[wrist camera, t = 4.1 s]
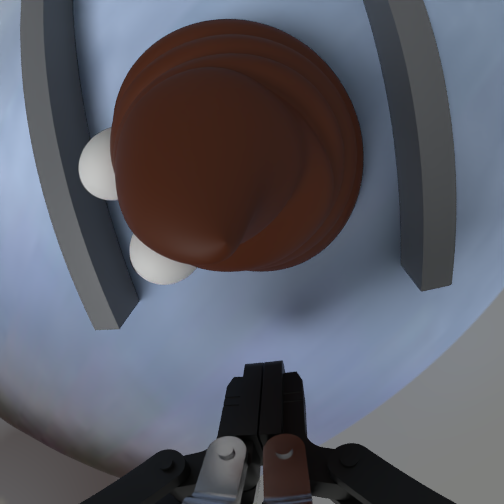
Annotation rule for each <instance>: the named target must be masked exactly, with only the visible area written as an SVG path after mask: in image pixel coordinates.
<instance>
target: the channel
mask: <svg viewBox="0 0 504 504" xmlns="http://www.w3.org/2000/svg"><path fill="white" fill-rule="evenodd" d="M363 2H364V5H365V8H366V11H367V15H368V18H369V21H370V25H371V28H372V32H373V36H374V40H375V43H376V47H377V51H378V55H379V60H380V64H381V69H382V73H383V78H384V83H385V88H386V93H387V99H388V104H389V110H390V116H391V123H392V130H393V137H394V145H395V154H396V163H397V174H398V186H399V201H400V223H401V266H402V267H403V269H404V270H405V271H406V272H407V274H408V275H409V276H410V278H411V279H412V280H413V282H414V283H415V284H416V285H417V287H418V288H419V289H420V291H426V290H431V289H435V288H440V287H444V286H449V285H451V284H452V275H453V265H454V253H455V236H456V171H455V155H454V143H453V133H452V124H451V116H450V109H449V102H448V96H447V90H446V85H445V80H444V75H443V70H442V65H441V61H440V57H439V52H438V48H437V45H436V41H435V37H434V33H433V30H432V27H431V23H430V20H429V17H428V14H427V11H426V8H425V5H424V2H423V0H363ZM20 41H21V66H22V79H23V90H24V99H25V106H26V114H27V120H28V127H29V132H30V138H31V143H32V148H33V153H34V158H35V163H36V167H37V171H38V175H39V179H40V183H41V187H42V191H43V195H44V198H45V202H46V205H47V209H48V212H49V215H50V219H51V222H52V225H53V228H54V231H55V234H56V237H57V240H58V243H59V246H60V249H61V251H62V254H63V257H64V259H65V262H66V265H67V267H68V270H69V272H70V275H71V277H72V280H73V282H74V285H75V287H76V289H77V292H78V294H79V296H80V299H81V301H82V303H83V305H84V308H85V310H86V312H87V314H88V316H89V318H90V320H91V323H92V325H93V327H94V329H95V330H111V329H120V328H121V326H122V325H123V324H124V322H125V321H126V319H127V318H128V316H129V315H130V314H131V312H132V311H133V309H134V308H135V307H136V305H137V304H138V302H139V299H138V296H137V294H136V291H135V289H134V286H133V283H132V281H131V278H130V275H129V272H128V270H127V267H126V264H125V261H124V258H123V255H122V252H121V249H120V246H119V243H118V240H117V237H116V234H115V231H114V228H113V224H112V221H111V218H110V215H109V211H108V208H107V204H106V201H105V200H104V199H101V198H98V197H96V196H94V195H92V194H90V193H89V192H87V191H86V190H85V188H84V187H83V185H82V183H81V180H80V176H79V160H80V156H81V154H82V151H83V149H84V148H85V146H86V145H87V143H88V142H89V141H90V136H89V131H88V126H87V121H86V116H85V110H84V104H83V98H82V92H81V86H80V79H79V72H78V64H77V55H76V46H75V35H74V21H73V0H21V22H20Z"/></svg>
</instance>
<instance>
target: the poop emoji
mask: <svg viewBox="0 0 504 504" xmlns="http://www.w3.org/2000/svg"><path fill="white" fill-rule="evenodd" d="M362 174H363V142H362V135H361V130H360V125H359V122H358V118H357V115H356V112H355V109H354V107H353V105H352V102H351V100H350V98H349V96H348V94H347V92H346V90H345V88H344V87H343V85H342V84H341V82H340V80H339V79H338V78H337V76H336V75H335V73H334V72H333V71H332V70H331V68H330V67H329V66H328V65H327V64H326V63H325V62H324V61H323V60H322V59H321V58H320V57H319V56H318V55H317V54H316V53H315V52H314V51H313V50H312V49H310V48H309V47H308V46H307V45H305V44H304V43H302V42H301V41H299V40H298V39H296V38H295V37H293V36H291V35H289V34H287V33H285V32H283V31H281V30H279V29H276V28H274V27H271V26H268V25H265V24H261V23H257V22H253V21H247V20H238V19H218V20H209V21H203V22H199V23H195V24H191V25H188V26H185V27H183V28H180V29H178V30H176V31H174V32H172V33H170V34H168V35H166V36H165V37H163V38H161V39H160V40H159V41H157V42H156V43H154V44H153V45H152V46H151V47H150V48H148V49H147V50H146V51H145V52H144V53H143V54H142V55H141V56H140V57H139V59H138V60H137V61H136V62H135V64H134V65H133V66H132V68H131V69H130V71H129V72H128V74H127V76H126V77H125V79H124V81H123V83H122V86H121V88H120V91H119V93H118V96H117V100H116V104H115V108H114V115H113V123H112V127H111V128H108V129H105V130H103V131H101V132H100V133H98V134H97V135H95V136H94V137H93V138H92V139H91V140H90V141H89V142H88V143H87V145H86V146H85V148H84V149H83V151H82V154H81V156H80V160H79V176H80V180H81V183H82V185H83V187H84V188H85V190H86V191H87V192H89V193H90V194H92V195H94V196H96V197H98V198H101V199H104V200H118V201H119V205H120V208H121V211H122V214H123V216H124V219H125V221H126V222H127V224H128V226H129V228H130V229H131V231H132V232H133V236H132V238H131V242H130V261H131V264H132V267H133V268H134V270H135V271H136V272H137V273H138V274H139V275H140V276H141V277H142V278H144V279H145V280H147V281H149V282H151V283H155V284H160V285H167V284H173V283H176V282H179V281H181V280H183V279H185V278H186V277H188V276H189V275H190V274H192V273H193V272H194V270H195V269H196V268H197V267H198V268H201V269H206V270H211V271H221V272H234V271H260V272H262V271H275V270H281V269H286V268H290V267H293V266H296V265H298V264H301V263H303V262H305V261H307V260H309V259H311V258H312V257H314V256H315V255H317V254H318V253H320V252H321V251H322V250H323V249H325V248H326V247H327V246H328V245H329V244H330V243H331V242H332V241H333V240H334V239H335V238H336V237H337V235H338V234H339V233H340V231H341V230H342V229H343V227H344V226H345V224H346V222H347V221H348V219H349V217H350V215H351V213H352V211H353V209H354V206H355V204H356V201H357V198H358V194H359V190H360V186H361V181H362Z"/></svg>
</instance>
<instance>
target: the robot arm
mask: <svg viewBox="0 0 504 504" xmlns="http://www.w3.org/2000/svg"><path fill="white" fill-rule="evenodd" d="M262 465H263V481H264V501H263V502H262V504H312V496H317V497H322V498H329V499H331V500H332V501H333V502H334V503H335V504H456V503H454V502H452V501H451V500H449V499H447V498H445V497H443V496H442V495H440V494H438V493H436V492H435V491H433V490H431V489H430V488H428V487H426V486H425V485H422V484H421V483H419V482H418V481H416V480H415V479H413V478H411V477H410V476H408V475H407V474H405V473H403V472H402V471H400V470H399V469H397V468H395V467H394V466H393V465H391V464H389V463H388V462H386V461H385V460H383V459H382V458H380V457H379V456H377V455H376V454H374V453H373V452H371V451H370V450H368V449H367V448H366V447H364V446H362V445H360V444H354V443H350V444H344V445H341V446H339V447H337V448H336V449H330V448H323V447H319V446H317V445H315V444H313V443H312V442H310V440H309V439H308V438H307V424H306V407H305V397H304V389H303V381H302V379H301V378H300V376H299V375H298V373H297V372H289V373H285V369H284V364H283V361H273V362H265V363H253V364H245V368H244V375H243V377H234V378H233V379H232V380H231V382H230V383H229V385H228V386H227V390H226V395H225V400H224V407H223V410H222V416H221V421H220V426H219V431H218V436H217V439H216V440H214V441H213V442H212V443H211V444H210V445H209V447H208V449H206V450H204V451H202V452H199V453H194V454H190V455H185V456H183V455H182V454H181V453H179V452H178V451H175V450H170V449H169V450H162V451H160V452H158V453H156V454H155V455H153V456H152V457H150V458H149V459H148V460H146V461H145V462H143V463H142V464H141V465H139V466H138V467H136V468H135V469H133V470H132V471H130V472H129V473H127V474H126V475H124V476H123V477H121V478H120V479H119V480H117V481H115V482H114V483H112V484H111V485H109V486H108V487H106V488H104V489H103V490H101V491H100V492H98V493H96V494H95V495H93V496H91V497H90V498H88V499H86V500H85V501H83V502H81V503H80V504H257V498H258V493H259V487H260V466H262Z"/></svg>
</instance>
